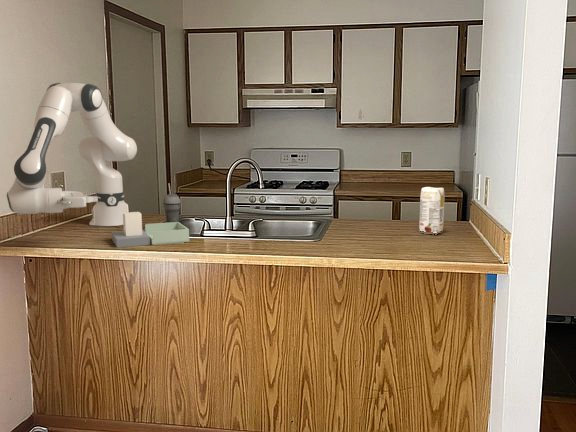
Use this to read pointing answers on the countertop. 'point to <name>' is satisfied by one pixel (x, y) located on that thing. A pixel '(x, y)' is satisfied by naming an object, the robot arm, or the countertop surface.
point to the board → (130, 239)
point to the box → (167, 233)
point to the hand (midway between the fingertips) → (97, 198)
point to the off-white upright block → (132, 223)
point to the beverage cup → (172, 207)
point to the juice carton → (431, 209)
